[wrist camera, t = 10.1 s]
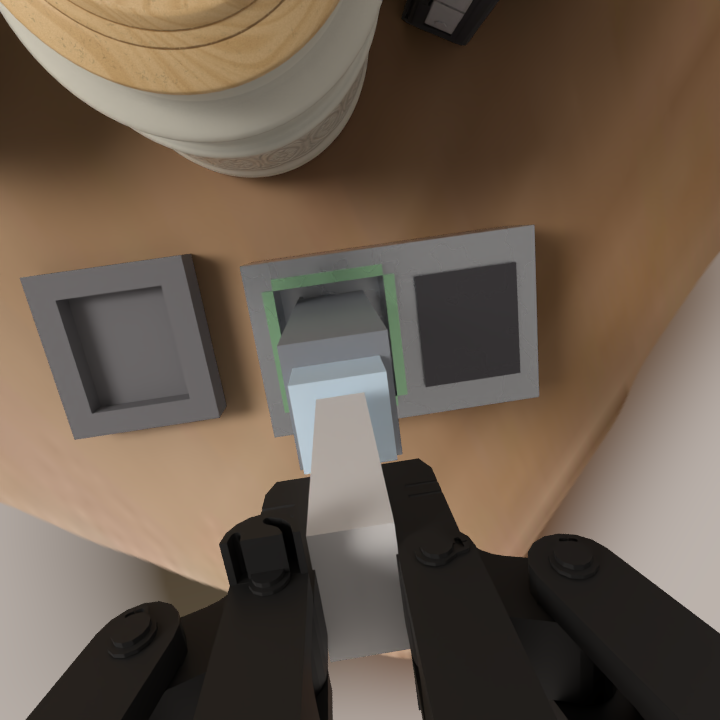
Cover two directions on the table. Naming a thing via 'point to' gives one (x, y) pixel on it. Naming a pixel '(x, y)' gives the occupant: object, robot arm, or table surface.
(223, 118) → the jar
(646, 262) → the table surface
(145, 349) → the holster
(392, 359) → the port panel
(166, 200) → the table surface
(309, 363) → the plug
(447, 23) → the camera
